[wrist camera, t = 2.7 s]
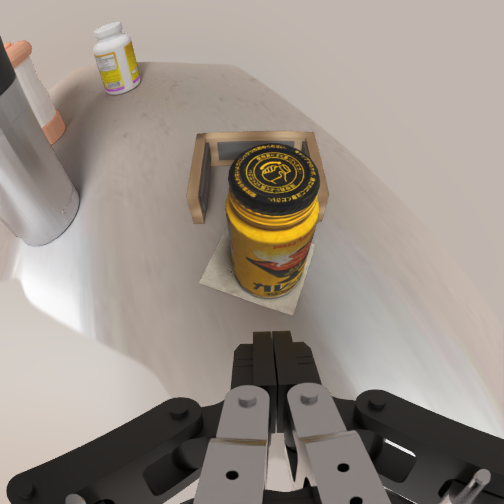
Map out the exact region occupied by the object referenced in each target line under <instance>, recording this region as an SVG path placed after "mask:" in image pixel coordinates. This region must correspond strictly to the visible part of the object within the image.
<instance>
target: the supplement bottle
mask: <svg viewBox="0 0 504 504" xmlns="http://www.w3.org/2000/svg"><path fill="white" fill-rule="evenodd" d="M121 30H122V25H121V22H114V23H110V24H107V25H104V26H102V27H100V28H98V29H96V30H95V31H94V35H95V38H96V39H97V41H98V43H97V44H96V45H95V46H94V49H93V52H94V56H95V59H96V62H97V65H98V68H99V71H100V74H101V77H102V80H103V84H104V86H105V89H106V92H107V93H108V94H111V95H118V94H122V93H125V92H128V91H130V90H132V89H133V88H135V87H136V86H137V85H138V84H139V83H140V74H139V70H138V66H137V62H136V58H135V54H134V50H133V46H132V42H131V38H130V36H129V35H128V34H125V33H122V31H121Z"/></svg>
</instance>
